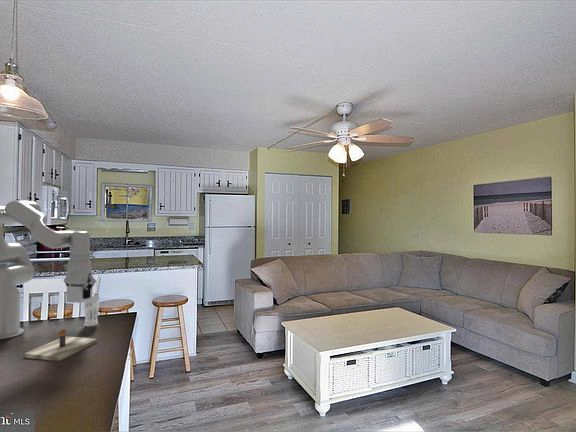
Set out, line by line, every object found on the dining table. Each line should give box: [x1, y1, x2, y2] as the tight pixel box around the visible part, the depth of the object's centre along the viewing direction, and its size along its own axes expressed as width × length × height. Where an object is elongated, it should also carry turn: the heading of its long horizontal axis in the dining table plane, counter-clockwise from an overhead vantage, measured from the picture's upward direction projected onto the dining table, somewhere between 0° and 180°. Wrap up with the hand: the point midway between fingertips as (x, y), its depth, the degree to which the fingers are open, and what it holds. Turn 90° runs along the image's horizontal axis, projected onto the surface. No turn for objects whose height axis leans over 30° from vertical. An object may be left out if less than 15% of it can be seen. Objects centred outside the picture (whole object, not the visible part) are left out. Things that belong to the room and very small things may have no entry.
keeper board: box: [23, 329, 98, 362], centre depth 136 cm, size 16×19×8 cm
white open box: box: [66, 284, 93, 304], centre depth 151 cm, size 7×7×7 cm
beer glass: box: [82, 293, 100, 328], centre depth 168 cm, size 7×7×15 cm
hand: (79, 297), depth 151 cm, fingers closed on white open box, 7 cm apart
